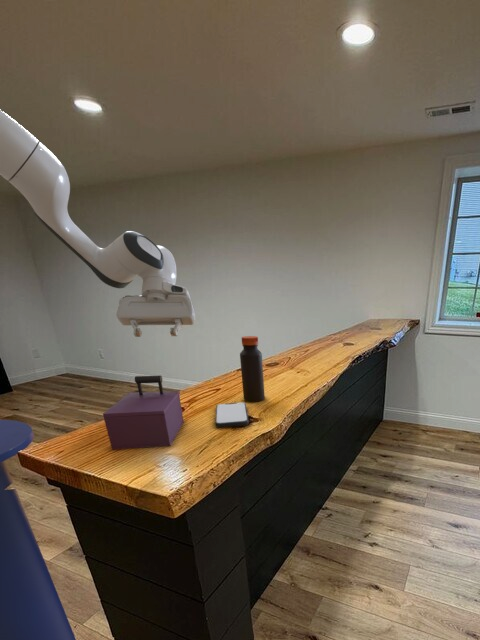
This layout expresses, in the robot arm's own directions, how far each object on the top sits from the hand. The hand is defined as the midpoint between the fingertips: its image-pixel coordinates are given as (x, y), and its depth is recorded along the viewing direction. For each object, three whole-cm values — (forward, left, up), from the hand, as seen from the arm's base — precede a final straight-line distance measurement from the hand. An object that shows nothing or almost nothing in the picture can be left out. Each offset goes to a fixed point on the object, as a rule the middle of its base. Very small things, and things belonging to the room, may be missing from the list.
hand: (155, 335), depth 96 cm
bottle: (+25, +7, -22) cm, 34 cm away
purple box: (0, -19, -22) cm, 29 cm away
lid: (0, -19, -14) cm, 23 cm away
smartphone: (+19, -9, -22) cm, 30 cm away
